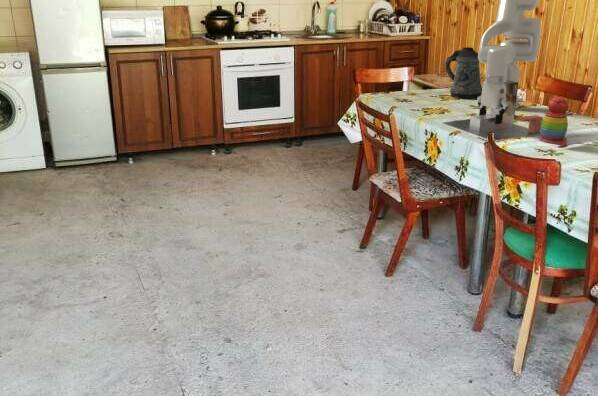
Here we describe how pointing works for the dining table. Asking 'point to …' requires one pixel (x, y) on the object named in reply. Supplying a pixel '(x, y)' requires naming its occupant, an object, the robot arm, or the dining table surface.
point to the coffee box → (510, 97)
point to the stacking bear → (555, 122)
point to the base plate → (498, 133)
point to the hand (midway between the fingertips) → (490, 121)
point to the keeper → (532, 122)
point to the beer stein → (465, 74)
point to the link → (490, 122)
